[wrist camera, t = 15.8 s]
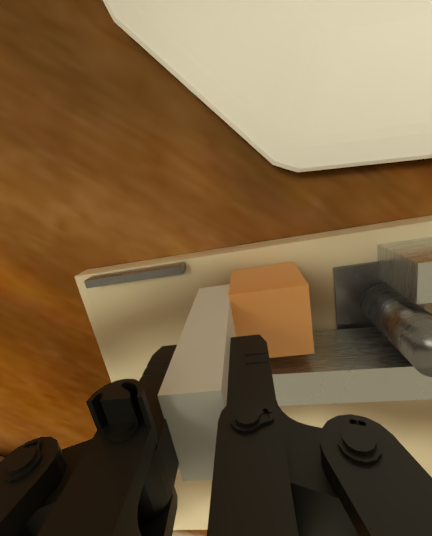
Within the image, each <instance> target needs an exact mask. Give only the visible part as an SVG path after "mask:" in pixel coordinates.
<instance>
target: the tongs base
mask: <svg viewBox="0 0 432 536" xmlns="http://www.w3.org/2000/svg"><path fill="white" fill-rule="evenodd" d="M377 250H378V261H375V262H368V263H361V264H354V265H347V266H339V267H333V276H334V293H335V310H336V326H337V329H350V328H363V327H377V328H378V329H379V330H380V331H381V332H382V333H383V334H384V335H385V336H386V337H387V339H388V340H389V341H390V342H391V343H392V344H393V345H394V346H395V347H396V348H397V349H398V350H399V351H400V353H401V354H402V355H403V356H404V357H405V358H406V359H407V360H408V361H409V362H410V363H411V364H412V365H413V367H414V368H415V369H416V370H417V371H418V372H420V373H421V374H423V375H425V376H428V377H432V314H431V313H430V312H428V311H427V310H425V303H432V237H425V238H418V239H412V240H405V241H398V242H391V243H385V244H378V245H377ZM185 271H186V264H185V261H184V262H177V263H171V264H164V265H158V266H151V267H145V268H138V269H132V270H125V271H119V272H112V273H106V274H99V275H93V276H91V277H89V278H88V279H86V280H85V281H84V283H85V286H86V288H93V287H100V286H106V285H113V284H120V283H127V282H133V281H140V280H147V279H154V278H161V277H167V276H174V275H181V274H184V272H185Z"/></svg>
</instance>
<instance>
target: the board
mask: <svg viewBox="0 0 432 536" xmlns="http://www.w3.org/2000/svg"><path fill="white" fill-rule="evenodd" d="M425 237H432V215H428V216H422V217H416V218H409V219H403V220H397V221H390V222H384V223H378V224H371V225H365V226H359V227H352V228H346V229H340V230H333V231H327V232H321V233H314V234H308V235H302V236H295V237H289V238H283V239H276V240H270V241H264V242H257V243H251V244H245V245H238V246H232V247H226V248H219V249H213V250H207V251H200V252H194V253H188V254H181V255H175V256H169V257H162V258H156V259H150V260H143V261H137V262H131V263H124V264H118V265H112V266H105V267H99V268H93V269H86V270H85V271H83V272H81V273H79V274H78V275H76V276H74V277H75V280H76V283H77V286H78V289H79V292H80V294H81V297H82V300H83V303H84V306H85V309H86V312H87V314H88V317H89V320H90V323H91V326H92V329H93V331H94V334H95V337H96V340H97V343H98V346H99V348H100V351H101V354H102V357H103V360H104V363H105V366H106V368H107V371H108V374H109V377H110V380H111V383H112V382H114V381H117V380H122V379H136V380H138V381H139V380H140V378H141V377H142V374H143V372H144V370H145V368H147V365H148V363H149V361H150V359H151V357H152V355H153V354H154V353H155V352H156V351H157V350H158V349H160V348H161V347H162V346H168V345H177V344H178V341H179V339H180V336H181V334H182V331H183V328H184V326H185V323H186V321H187V318H188V316H189V313H190V310H191V308H192V305H193V303H194V300H195V298H196V295H197V292H198V290H199V288H205V287H213V286H220V285H227V284H230V276H231V271H233V270H240V269H247V268H253V267H260V266H267V265H274V264H281V263H288V262H294V263H295V265H296V266H297V268H298V269H299V271H300V272H301V274H302V275H303V277H304V278H305V280H306V282H307V283H308V285H309V296H310V308H311V319H312V330H313V331H323V330H336V329H337V326H336V310H335V293H334V276H333V267H339V266H347V265H354V264H361V263H368V262H375V261H378V250H377V245H378V244H385V243H391V242H398V241H405V240H412V239H418V238H425ZM184 261H185V264H186V271H185V272H184V274H181V275H174V276H167V277H161V278H154V279H147V280H140V281H133V282H127V283H120V284H113V285H106V286H100V287H93V288H86V286H85V283H84V281H85V280H86V279H88V278H89V277H91V276H93V275H99V274H106V273H112V272H119V271H125V270H132V269H138V268H145V267H151V266H158V265H164V264H171V263H177V262H184ZM425 310H427V311H428V312H430V313H431V314H432V303H425ZM279 407H280V408H281V410H282V411H283V412H284V413H285V414H286V415H287V416H288V417H290V418H292V419H293V420H295V421H297V422H300V423H303V424H306V425H310V426H315V427H319V428H322V427H323V426H324V425H325V423H326V422H327V421H328V420H330V419H332V418H334V417H336V416H338V415H347V414H353V415H358V416H363V417H367V418H369V419H371V420H373V421H375V422H377V423H379V424H381V425H382V426H383V427H384V428H386V429H387V430H388V431H389V432H390V433H392V434H393V435H394V436H395V438H396V439H397V440H398V441H399V442H400V443H401V444H402V445H403V446H404V447H405V449H406V450H407V451H408V452H409V453H410V454H411V455H412V456H413V457H414V459H415V460H416V461H417V462H418V463H419V464H420V465H421V466H422V467H423V468H424V470H425V471H426V472H427V473H428V474H429V475H430V476H431V477H432V399H427V400H404V401H381V402H357V403H334V404H311V405H287V406H279ZM174 487H175V490H176V493H177V496H178V500H177V512H176V517H175V522H174V527H173V530H208V519H209V509H210V499H211V488H212V480H204V481H183V480H182V477H181V474H180V470H179V467H178V470H177V475H176V479H175V484H174Z"/></svg>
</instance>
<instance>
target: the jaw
mask: <svg viewBox="0 0 432 536" xmlns="http://www.w3.org/2000/svg"><path fill="white" fill-rule="evenodd" d="M313 341H314V353H315V354H305V355H295V356H285V357H275V358H270V365H271V371H272V377H273V383H274V389H275V395H276V400H277V403H278V406H287V405H311V404H334V403H357V402H381V401H404V400H427V399H432V377H428V376H425V375H423V374H421V373H420V372H418V371H417V370H416V369H415V368H414V367H413V365H412V364H411V363H410V362H409V361H408V360H407V359H406V358H405V357H404V356H403V355H402V354H401V353H400V351H399V350H398V349H397V348H396V347H395V346H394V345H393V344H392V343H391V342H390V341H389V340H388V339H387V337H386V336H385V335H384V334H383V333H382V332H381V331H380V330H379V329H378V328H377V327H363V328H350V329H336V330H323V331H313Z"/></svg>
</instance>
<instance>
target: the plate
mask: <svg viewBox="0 0 432 536" xmlns="http://www.w3.org/2000/svg"><path fill="white" fill-rule="evenodd" d="M103 2H104V4H105V6H106V8H107V10H108V11H109V13H110V15H111V17H112V19H113V21H114V22H115V23H116V24H117V25H118V26H119V27H120V28H121V29H122V30H123V31H124V32H126V33H127V34H128V35H129V36H130V37H131V38H132V39H133V40H134V41H136V42H137V43H138V44H139V45H140V46H141V47H142V48H143V49H144V50H146V51H147V52H148V53H149V54H150V55H151V56H152V57H153V58H154V59H156V60H157V61H158V62H159V63H160V64H161V65H162V66H163V67H164V68H166V69H167V70H168V71H169V72H170V73H171V74H172V75H173V76H174V77H176V78H177V79H178V80H179V81H180V82H181V83H182V84H183V85H184V86H186V87H187V88H188V89H189V90H190V91H191V92H192V93H193V94H194V95H196V96H197V97H198V98H199V99H200V100H201V101H202V102H203V103H204V104H206V105H207V106H208V107H209V108H210V109H211V110H212V111H213V112H214V113H216V114H217V115H218V116H219V117H220V118H221V119H222V120H223V121H224V122H226V123H227V124H228V125H229V126H230V127H231V128H232V129H233V130H234V131H235V132H237V133H238V134H239V135H240V136H241V137H242V138H243V139H244V140H245V141H247V142H248V143H249V144H250V145H251V146H252V147H253V148H254V149H255V150H257V151H258V152H259V153H260V154H261V155H262V156H263V157H264V158H265V159H267V160H268V161H269V162H270V163H271V164H272V165H275V166H278V167H281V168H284V169H287V170H290V171H294V172H307V171H316V170H325V169H335V168H344V167H353V166H363V165H372V164H381V163H391V162H400V161H409V160H419V159H428V158H432V0H103Z"/></svg>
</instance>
